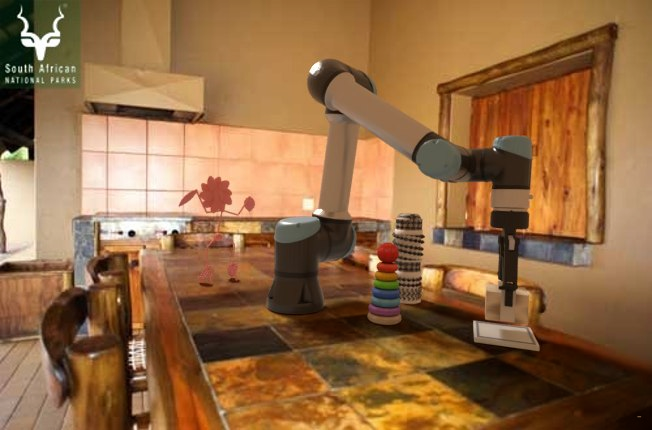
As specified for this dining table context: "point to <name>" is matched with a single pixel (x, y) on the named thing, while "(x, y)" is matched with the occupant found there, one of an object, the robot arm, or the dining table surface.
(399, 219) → the decorative candle
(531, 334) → the board
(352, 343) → the dining table surface
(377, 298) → the stacking toy
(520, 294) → the birch block
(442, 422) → the dining table surface
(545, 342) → the dining table surface
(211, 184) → the figurine
